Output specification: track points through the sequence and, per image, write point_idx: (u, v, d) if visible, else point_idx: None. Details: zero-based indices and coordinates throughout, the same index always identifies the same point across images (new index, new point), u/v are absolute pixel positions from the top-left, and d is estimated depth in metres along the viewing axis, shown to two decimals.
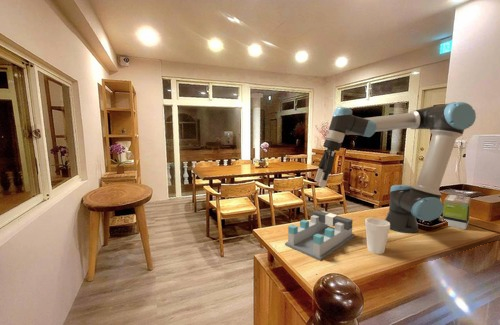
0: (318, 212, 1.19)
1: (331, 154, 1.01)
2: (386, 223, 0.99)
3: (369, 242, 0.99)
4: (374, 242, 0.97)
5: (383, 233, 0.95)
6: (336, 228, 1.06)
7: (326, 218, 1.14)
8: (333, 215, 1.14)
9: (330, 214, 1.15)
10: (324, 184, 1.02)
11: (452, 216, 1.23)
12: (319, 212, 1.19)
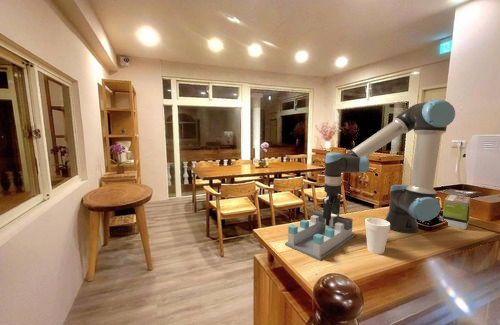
0: (318, 212, 1.19)
1: (324, 202, 1.09)
2: (386, 223, 0.99)
3: (369, 242, 0.99)
4: (374, 242, 0.97)
5: (383, 233, 0.95)
6: (336, 228, 1.06)
7: None
8: (333, 215, 1.14)
9: None
10: None
11: (452, 216, 1.23)
12: (319, 212, 1.19)
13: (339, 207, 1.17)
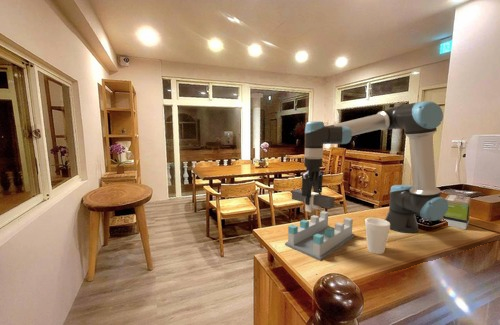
0: (298, 191, 1.06)
1: (303, 177, 0.96)
2: (386, 223, 0.99)
3: (369, 242, 0.99)
4: (374, 242, 0.97)
5: (383, 233, 0.95)
6: (336, 228, 1.06)
7: None
8: (314, 193, 1.00)
9: (311, 192, 1.02)
10: (309, 208, 0.99)
11: (452, 216, 1.23)
12: (299, 191, 1.06)
13: (321, 185, 1.03)
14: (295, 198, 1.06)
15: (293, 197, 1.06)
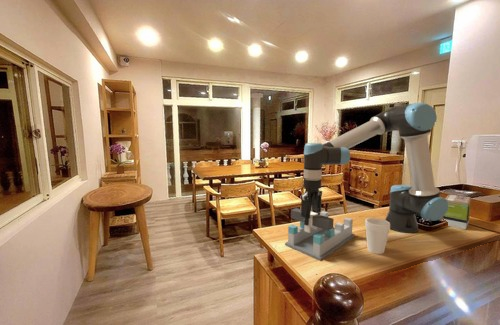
0: (297, 210, 1.06)
1: (302, 199, 0.97)
2: (386, 223, 0.99)
3: (369, 242, 0.99)
4: (374, 242, 0.97)
5: (383, 233, 0.95)
6: (336, 228, 1.06)
7: None
8: (313, 213, 1.01)
9: None
10: (308, 229, 1.00)
11: (452, 216, 1.23)
12: (298, 210, 1.06)
13: (320, 205, 1.04)
14: (294, 217, 1.06)
15: (292, 216, 1.07)
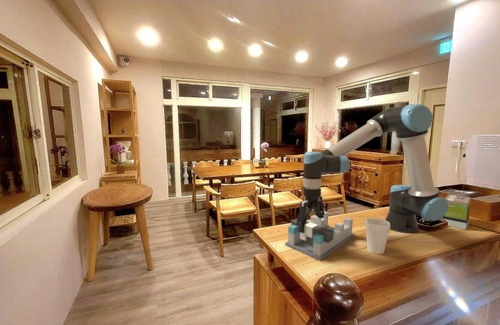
0: None
1: (301, 205, 0.97)
2: (386, 223, 0.99)
3: (369, 242, 0.99)
4: (374, 242, 0.97)
5: (383, 233, 0.95)
6: (336, 228, 1.06)
7: None
8: (313, 225, 1.02)
9: (310, 224, 1.03)
10: (304, 236, 0.98)
11: (452, 216, 1.23)
12: None
13: (323, 209, 1.06)
14: None
15: None
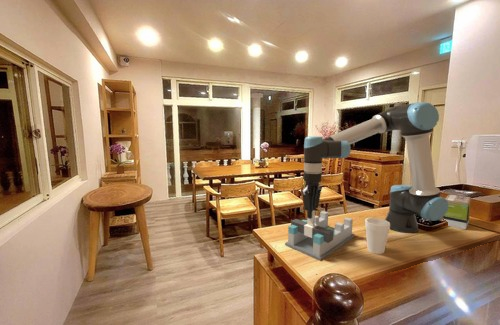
0: (297, 221, 1.07)
1: (303, 193, 0.97)
2: (386, 223, 0.99)
3: (369, 242, 0.99)
4: (374, 242, 0.97)
5: (383, 233, 0.95)
6: (336, 228, 1.06)
7: (305, 228, 1.02)
8: None
9: None
10: (311, 222, 1.01)
11: (452, 216, 1.23)
12: (298, 221, 1.07)
13: None
14: None
15: None
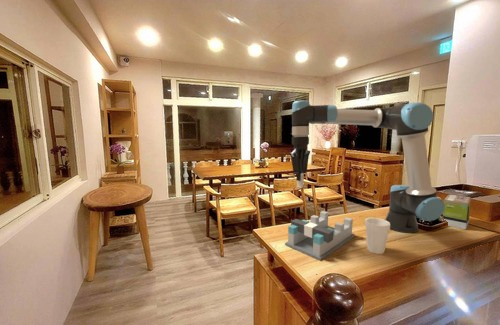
0: (297, 221, 1.07)
1: (292, 156, 1.01)
2: (386, 223, 0.99)
3: (369, 242, 0.99)
4: (374, 242, 0.97)
5: (383, 233, 0.95)
6: (336, 228, 1.06)
7: (305, 228, 1.02)
8: (313, 225, 1.02)
9: (310, 224, 1.03)
10: (300, 184, 1.05)
11: (452, 216, 1.23)
12: (298, 221, 1.07)
13: (307, 164, 1.07)
14: None
15: None
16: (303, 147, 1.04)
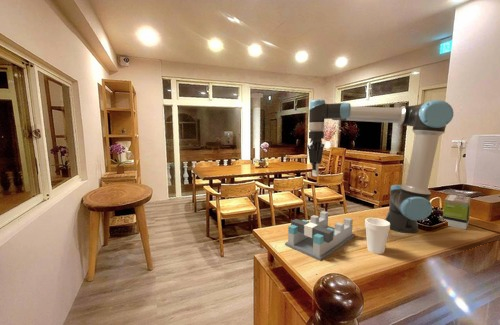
0: (297, 221, 1.07)
1: (309, 148, 1.16)
2: (386, 223, 0.99)
3: (369, 242, 0.99)
4: (374, 242, 0.97)
5: (383, 233, 0.95)
6: (336, 228, 1.06)
7: (305, 228, 1.02)
8: (313, 225, 1.02)
9: (310, 224, 1.03)
10: (315, 173, 1.20)
11: (452, 216, 1.23)
12: (298, 221, 1.07)
13: (321, 155, 1.22)
14: None
15: None
16: (318, 140, 1.19)
